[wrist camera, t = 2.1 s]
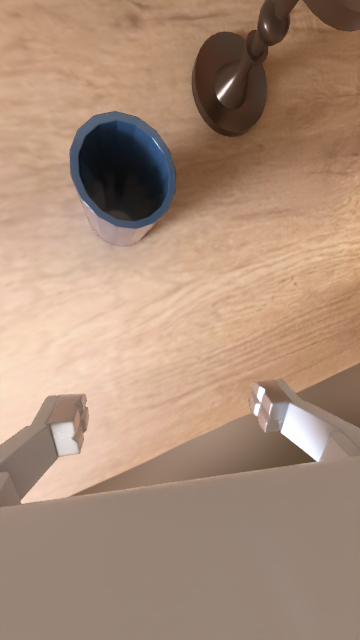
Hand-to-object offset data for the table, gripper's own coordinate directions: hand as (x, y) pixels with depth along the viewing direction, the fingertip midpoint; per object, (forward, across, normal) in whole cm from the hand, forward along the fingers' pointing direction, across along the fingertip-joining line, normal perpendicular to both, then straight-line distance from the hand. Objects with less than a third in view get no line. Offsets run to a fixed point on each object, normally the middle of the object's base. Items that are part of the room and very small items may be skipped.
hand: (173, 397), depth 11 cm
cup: (+19, +4, -9) cm, 22 cm away
